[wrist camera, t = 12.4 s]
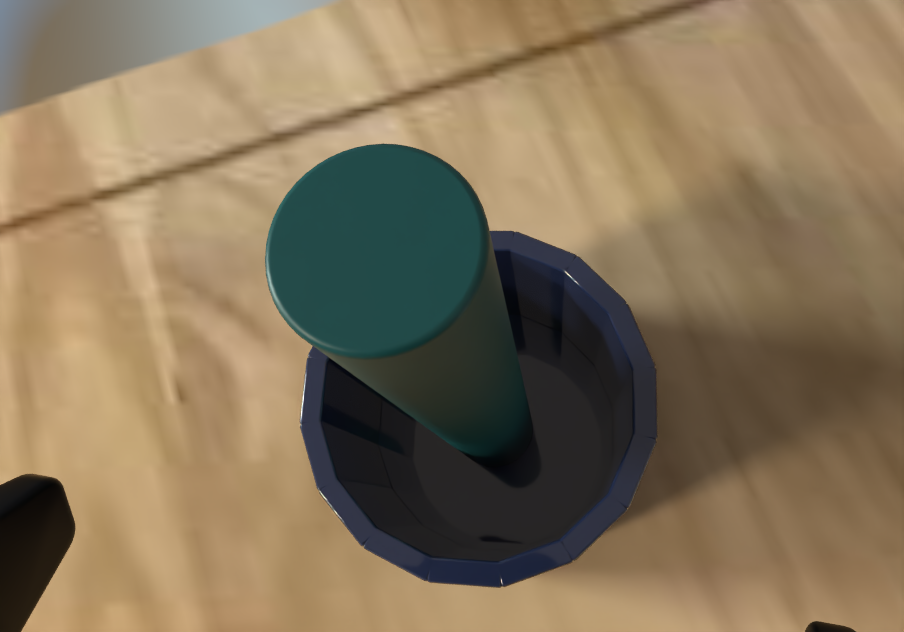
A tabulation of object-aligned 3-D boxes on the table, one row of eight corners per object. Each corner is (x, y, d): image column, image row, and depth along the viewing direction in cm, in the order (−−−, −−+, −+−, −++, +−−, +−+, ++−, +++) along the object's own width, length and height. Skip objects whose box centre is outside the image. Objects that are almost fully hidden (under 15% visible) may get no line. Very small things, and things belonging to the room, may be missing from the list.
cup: (629, 576, 18) (660, 600, 13) (357, 557, 19) (281, 571, 14) (627, 307, 20) (654, 230, 14) (380, 303, 21) (320, 229, 15)
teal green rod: (531, 469, 18) (483, 362, 6) (453, 465, 18) (247, 355, 6) (533, 390, 19) (494, 138, 6) (457, 387, 19) (276, 141, 7)
